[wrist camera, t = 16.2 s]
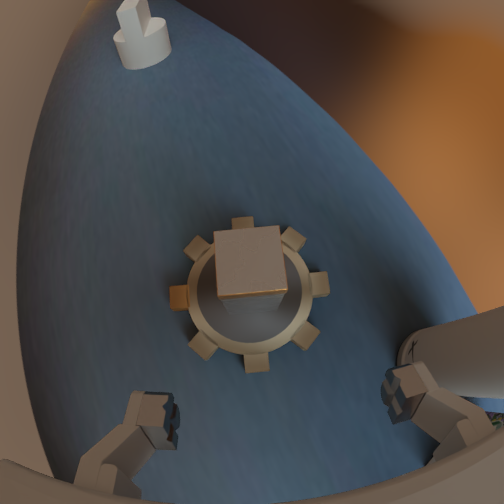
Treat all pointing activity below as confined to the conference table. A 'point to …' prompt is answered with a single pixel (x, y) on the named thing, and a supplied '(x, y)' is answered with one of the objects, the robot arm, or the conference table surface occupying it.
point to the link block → (250, 269)
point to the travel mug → (462, 354)
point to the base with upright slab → (140, 36)
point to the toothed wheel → (254, 323)
